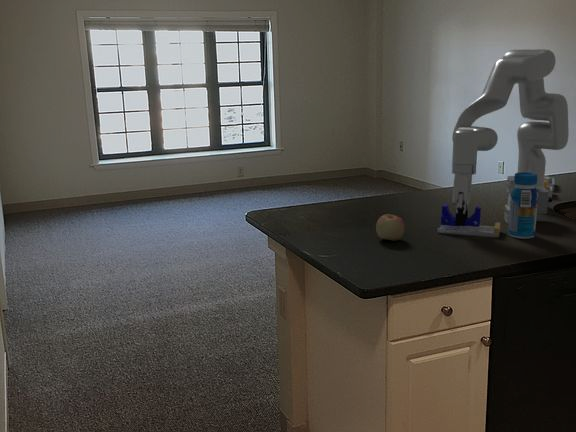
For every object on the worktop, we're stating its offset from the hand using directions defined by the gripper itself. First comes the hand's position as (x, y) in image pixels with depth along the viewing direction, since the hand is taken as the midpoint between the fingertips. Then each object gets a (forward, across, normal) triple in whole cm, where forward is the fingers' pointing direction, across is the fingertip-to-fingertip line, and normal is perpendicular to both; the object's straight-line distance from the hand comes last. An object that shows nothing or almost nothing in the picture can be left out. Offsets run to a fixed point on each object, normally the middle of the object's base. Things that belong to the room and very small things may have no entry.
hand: (461, 222), depth 208 cm
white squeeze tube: (+3, 0, +2) cm, 4 cm away
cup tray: (+3, -78, +22) cm, 81 cm away
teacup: (+3, -77, +24) cm, 80 cm away
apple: (+3, +16, -20) cm, 26 cm away
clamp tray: (+3, -62, +20) cm, 65 cm away
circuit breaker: (+3, -20, +20) cm, 29 cm away
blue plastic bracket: (+1, 0, 0) cm, 1 cm away
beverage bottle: (+3, -1, +19) cm, 19 cm away
